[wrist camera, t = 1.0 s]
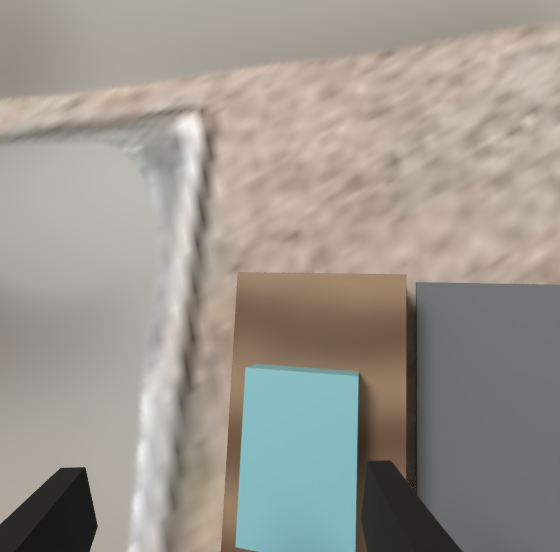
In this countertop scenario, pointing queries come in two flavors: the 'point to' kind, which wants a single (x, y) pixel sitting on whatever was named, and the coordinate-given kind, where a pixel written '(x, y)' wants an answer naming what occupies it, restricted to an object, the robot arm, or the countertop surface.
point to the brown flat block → (324, 359)
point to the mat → (489, 413)
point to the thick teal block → (298, 460)
